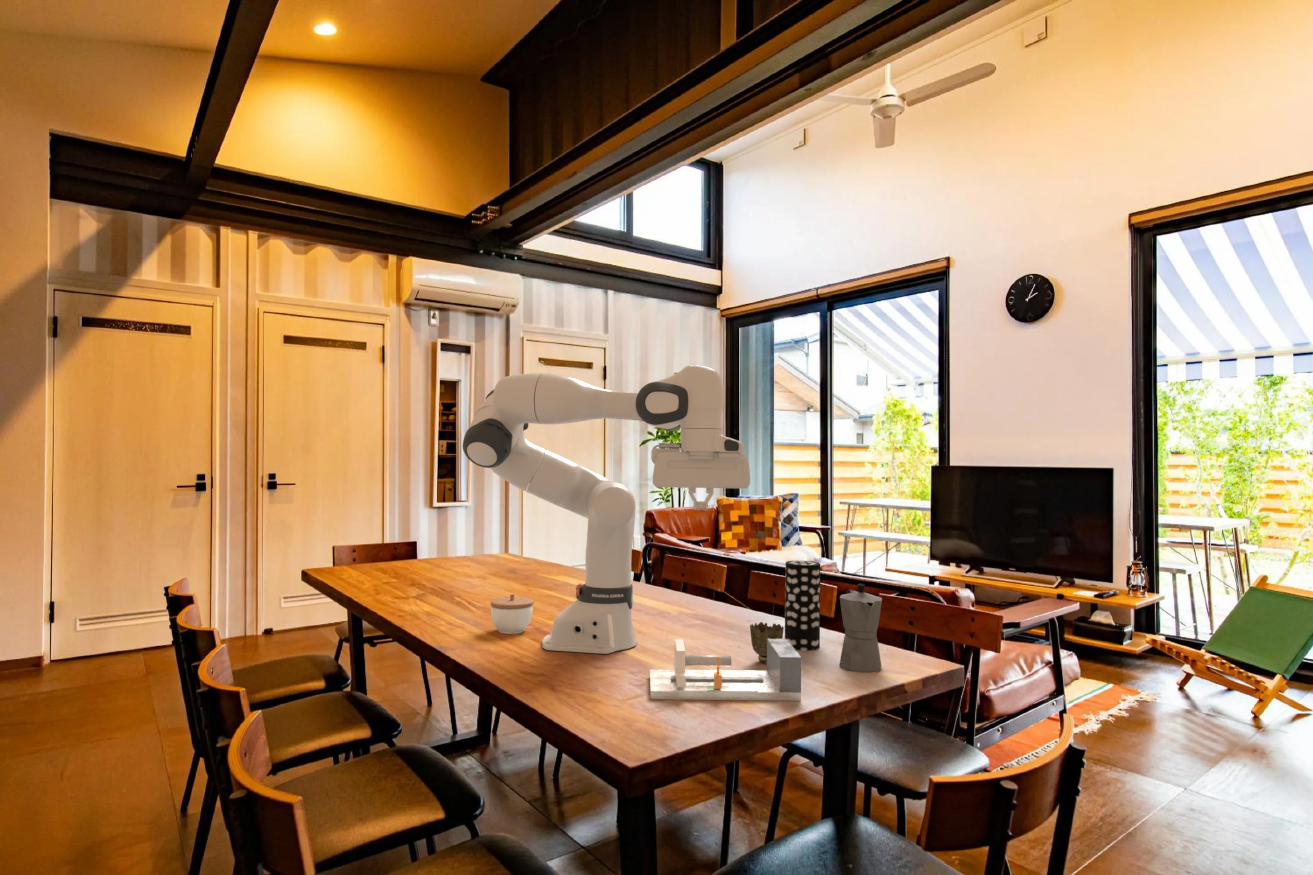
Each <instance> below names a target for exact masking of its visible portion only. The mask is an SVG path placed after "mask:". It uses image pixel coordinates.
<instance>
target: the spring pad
mask: <svg viewBox="0 0 1313 875" xmlns="http://www.w3.org/2000/svg"><path fill="white" fill-rule="evenodd" d="M684 643H685V642H684V640H683V638H682V639H681V638H675V639H674V664H673V665H674V666H673V668H674V669H673V670H675V677H676V683H677V687H686V674H685V670H686V667H691V666H692V667H717V656H719V667H732V655H721V654H720V655H718V654H717V655H713V654H712V655H710V654H709V655H707V654H705V655H704V654H702V655H701V654H696V655H694V654H686V648H685V644H684Z"/></svg>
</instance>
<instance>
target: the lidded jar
mask: <svg viewBox="0 0 1313 875" xmlns="http://www.w3.org/2000/svg"><path fill="white" fill-rule="evenodd" d="M533 607H534V600H533V599H532V598H529V597H525V596H522V597H521V596H515V594H514V593H510V594H509V596H506V597H499V598H494V599H492V600H491V601H490V615H491V621H492V624H493V626H494V627H495V628H496V629H497V630H498V631H499V633H501V634H504V635H515V634H517V635H518V634H520V633H524V631H525V629H526V628H527V627H528V626H529V624H530V623H531V621H532V617H533Z"/></svg>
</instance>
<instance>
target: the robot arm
mask: <svg viewBox="0 0 1313 875" xmlns="http://www.w3.org/2000/svg"><path fill="white" fill-rule="evenodd" d="M723 388H724V387H723V380H722V377H721V375H720V374H719V372H718V371H716V370H715V369H714V368H711V367H708V366H702V365H697V364H696V365H695V364H688V365H686V366H684V367H683V368H682V369H681V370H680V371H678V372H676V373H675V374H672V375H671V376H668V377H664V378H662V379H659V380H656V381H652V382H649V383H647V384H645V385H644V386H642V387H641V389H639V391H638V392H635V391H623V390H622V391H620V390H610V389H604V388H600V387H597V386H594V385H591V384H590V383H587V382H585V381H582V380H579V379H576V378H573V377H569V376H567V375H566V376H565V375H561V374H554V373H538V372H537V373H521V374H513V375H512V374H511V375H508V376H507V375H506V376H504V377H502V378H500V379H499V380H498V381H497V383H496V384H495V386H494V389H493V388H492V390H491V391H490V392H489V393H488V394H486V397H485V399H484V400H483V402H481V404H480V406H479V407H478V408H477V410H476V411H475V414H474V416H473V419H472V420H471V423H470V425H469V426H468V427H469V428H467V430H466V432H465V433H464V437H463V440H462V451H463V453H464V455H465V457H466V458H467V460H469V461H470V462H472V463H473V464H475V466H479V467H481V468H486V469H491V470H492V472H493V473H494V474H495V475H497V476H498V477H499V478H501V479H503V480H504V481H506V482H508V484H510V485H512V486H514V487H516V488H518V489H519V490H522V491H524V492H526V493H528V494H531V495H533V496H535V497H537V498H539V499H542V500H544V501H545V502H548V503H550V504H552V505H555V506H557V507H560V508H562V509H565V510H567V511H570V512H572V513H574V514H576V515H579V516H581V517H583V518H585V519H587V530H586V532H587V533H586V534H587V536H586V546H585V568H584V569H585V570H584V571H585V575H584V576H585V578H584V580H585V581H584V583H583V582H582V583H581V582H579V583H577V585H576V587H575V590H576V591H575V592H576V594H575V598H576V600H574V602H572V603H571V604H570V605H568V606H567V607H566V608H564V609H563V610H562V611H561V612H560V613H558V614H557V615H556V616H555V618H554V620H553V624H552V628H551V632H550V633H549V634H547V635H545V636H544V637H543V638H542V642H541V646H542V649H545V651H557V652H558V651H559V652H574V653H587V654H589V653H590V654H603V655H605V654H606V655H607V654H611V653H614V652H618V651H623V650H627V649H631V648H633V647H635V646H636V645H637V644H638V643H637V638H636V635H635V630H634V624H633V614H632V612H633V611H632V608H633V606H634V586H633V584H632V556H633V555H632V552H633V550H632V549H633V543H634V535H635V534H634V532H635V524H636V523H635V521H636V507H637V506H636V498H635V495H634V494H633V492H632V491H631V490H630V488H629V487H627V486H626V485H624V484H622V483H620V482H617V481H614V480H611V479H610V478H607V477H605V476H604V475H602V474H599V473H596V472H594V471H592V470H591V469H588V468H587V467H585V466H582V465H580V464H579V463H576V462H575V461H574V462H573V461H572V460H569V459H568V458H565V457H563V456H562V455H559V454H557V453H555V452H552V451H550V450H549V449H546V448H543V447H541V446H540V445H536V444H534V443H532V442H531V441H529V440H528V439H527V438H526V435H525V433H524V431H526V430H527V429H528V428H529V424H535V425H563V424H572V423H579V422H586V421H590V420H591V421H592V420H599V419H600V420H601V419H611V420H612V419H613V420H628V421H640V422H645V423H646V424H648V425H650V426H652V427H656V428H659V429H661V430H663V431H668V432H669V431H671V432H672V431H677V430H679V429H680V440H679V441H680V442H670V443H669V442H668V443H666V442H660V443H658V444H657V445H654V446H653V447H652V449H651V455H650V456H651V458H650V459H651V462H652V463H653V464H654V466H653V472H652V485H653V486H654V487H656V488H676V489H677V488H687V490H688V495H689V497H690V499H691V500H692V502H693V510H694V511H708V510H709V502H710V500H711V499H712V497H713V495H714V489H748V487H749V486H750V485H751V473H750V471H751V470H750V464H749V460H748V458H747V456H746V455H745V454H744V453H743V452H745V443H744V442H743V441H740V440H737V439H734V438H732V437H730V436H728V437H727V436H724V426H723V424H722V423H723V422H722V414H723V410H724V389H723ZM697 489H705V493H706V494H707V495H706V498H705V499H704V500H703V501H702V500H701V501H699V500H697V498H696V497H695V495H694V494H696V493H697Z"/></svg>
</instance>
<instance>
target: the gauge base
mask: <svg viewBox="0 0 1313 875" xmlns="http://www.w3.org/2000/svg"><path fill="white" fill-rule="evenodd" d="M714 672H717V669H685V674H686V687H677V683H676V677H675V670H674V669H661V668H660V669H654V668H652V669H650V668H649V689H650V690H649V691H650V693H649V695H650V700H673V701H674V700H676V701H679V700H685V701H686V700H688V701H691V700H692V701H699V700H700V701H701V700H702V701H704V700H705V701H786V702H787V701H788V702H790V701H791V702H792V701H794V702H797V701H799V702H800V701H802V656H801V655H800V654H799V653H798V650H795V649H794V648H793V646H792V645H791V644H790V643H789V641H788V640H787V639H785V638H782V639H767V663H766V670H748V669H747V670H746V669H745V670H744V669H743V670H742V669H740V670H739V669H738V670H736V669H735V670H734V669H732V670H731V669H719V672H721V675H722V689H715V686H714Z"/></svg>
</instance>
